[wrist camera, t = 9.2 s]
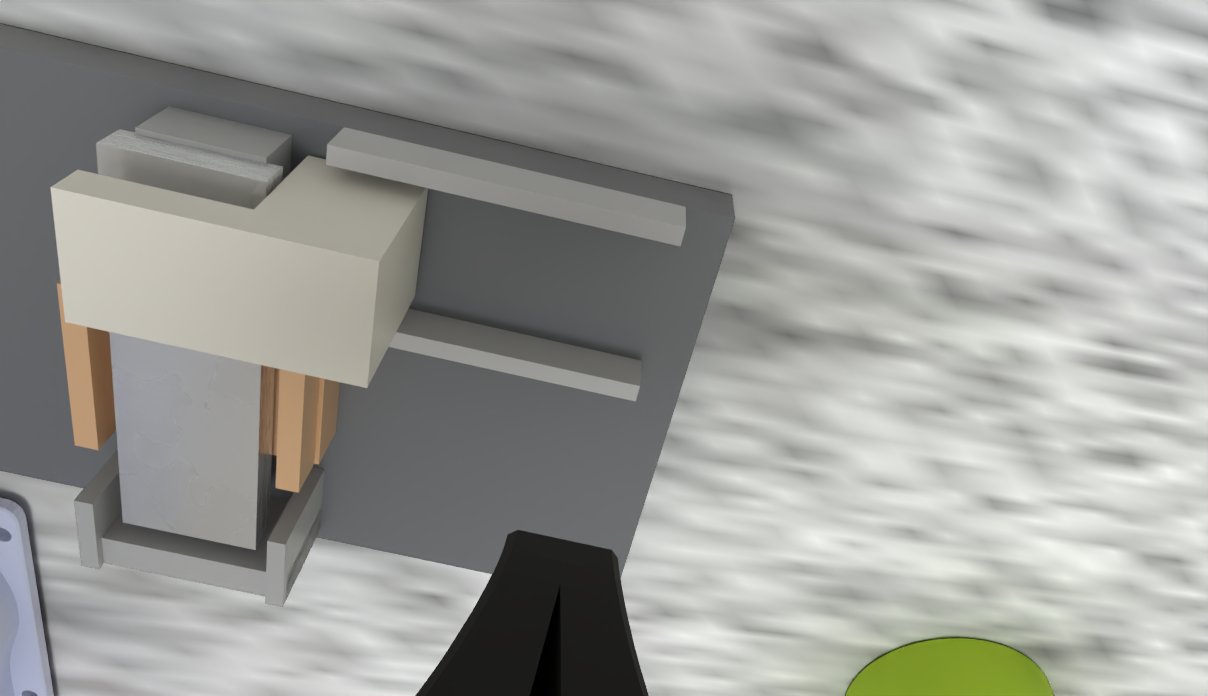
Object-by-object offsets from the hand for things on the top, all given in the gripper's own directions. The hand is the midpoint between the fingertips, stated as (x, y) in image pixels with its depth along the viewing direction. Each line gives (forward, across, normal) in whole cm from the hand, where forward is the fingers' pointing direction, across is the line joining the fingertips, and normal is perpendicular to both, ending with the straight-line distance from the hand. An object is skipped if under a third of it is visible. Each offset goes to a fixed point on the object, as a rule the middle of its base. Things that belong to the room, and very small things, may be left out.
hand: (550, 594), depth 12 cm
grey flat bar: (+7, +8, +3) cm, 11 cm away
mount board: (+10, +7, +3) cm, 12 cm away
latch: (+9, +6, 0) cm, 11 cm away
